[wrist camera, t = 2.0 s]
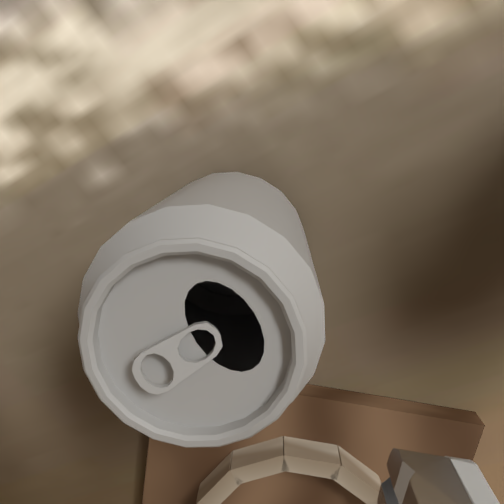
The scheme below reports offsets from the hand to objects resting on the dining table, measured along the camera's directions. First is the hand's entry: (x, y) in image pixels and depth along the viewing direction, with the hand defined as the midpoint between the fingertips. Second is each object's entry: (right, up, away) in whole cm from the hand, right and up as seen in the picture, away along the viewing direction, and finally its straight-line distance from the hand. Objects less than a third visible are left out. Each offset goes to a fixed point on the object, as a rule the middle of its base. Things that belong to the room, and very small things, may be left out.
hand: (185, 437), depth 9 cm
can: (0, +4, +14) cm, 15 cm away
